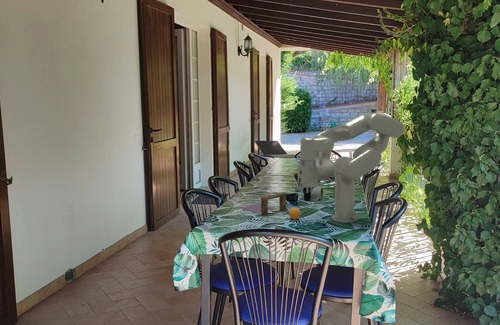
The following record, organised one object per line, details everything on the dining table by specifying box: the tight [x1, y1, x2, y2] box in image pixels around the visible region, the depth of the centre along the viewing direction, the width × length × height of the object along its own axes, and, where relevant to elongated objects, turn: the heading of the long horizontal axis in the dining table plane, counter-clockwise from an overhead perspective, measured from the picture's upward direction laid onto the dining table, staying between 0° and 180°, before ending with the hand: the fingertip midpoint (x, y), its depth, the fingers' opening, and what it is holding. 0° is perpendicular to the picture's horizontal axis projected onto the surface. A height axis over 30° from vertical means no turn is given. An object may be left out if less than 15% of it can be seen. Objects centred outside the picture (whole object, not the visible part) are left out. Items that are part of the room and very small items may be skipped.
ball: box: [288, 207, 302, 220], centre depth 226 cm, size 6×6×6 cm
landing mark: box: [241, 203, 274, 213], centre depth 249 cm, size 13×13×1 cm
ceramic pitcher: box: [316, 151, 335, 182], centre depth 326 cm, size 22×20×25 cm
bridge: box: [260, 192, 287, 217], centre depth 238 cm, size 3×15×10 cm, turn 128°
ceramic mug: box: [310, 186, 324, 202], centre depth 267 cm, size 11×8×8 cm
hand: (307, 200), depth 217 cm, fingers closed
